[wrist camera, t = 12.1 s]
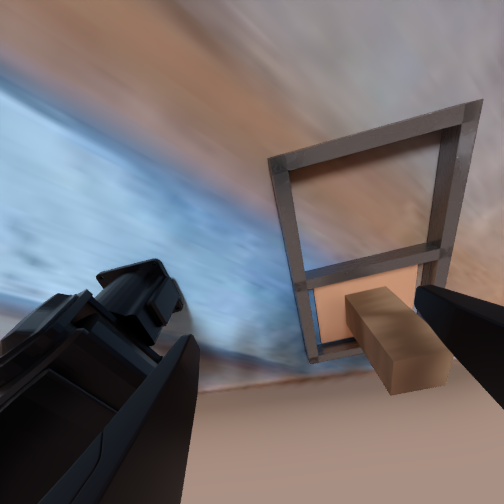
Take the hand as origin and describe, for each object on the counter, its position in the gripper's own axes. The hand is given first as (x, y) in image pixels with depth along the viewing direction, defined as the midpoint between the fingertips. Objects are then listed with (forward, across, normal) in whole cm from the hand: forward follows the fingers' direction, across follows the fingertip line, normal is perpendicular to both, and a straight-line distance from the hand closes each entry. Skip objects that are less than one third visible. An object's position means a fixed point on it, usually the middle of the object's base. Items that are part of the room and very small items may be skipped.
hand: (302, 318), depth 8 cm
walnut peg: (+12, -9, +12) cm, 19 cm away
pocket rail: (+12, -9, +6) cm, 16 cm away
